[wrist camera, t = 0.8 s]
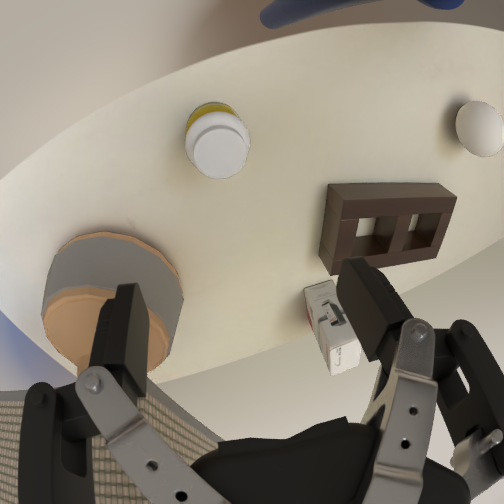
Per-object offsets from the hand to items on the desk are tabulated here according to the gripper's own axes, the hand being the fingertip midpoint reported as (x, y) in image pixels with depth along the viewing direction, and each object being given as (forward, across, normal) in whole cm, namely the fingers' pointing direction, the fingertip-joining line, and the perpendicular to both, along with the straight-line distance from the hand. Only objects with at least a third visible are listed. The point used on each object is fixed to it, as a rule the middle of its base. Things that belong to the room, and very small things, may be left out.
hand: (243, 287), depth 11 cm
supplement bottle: (+22, 0, -1) cm, 23 cm away
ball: (+23, -35, -4) cm, 42 cm away
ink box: (+22, -15, +27) cm, 38 cm away
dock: (+22, -23, +12) cm, 34 cm away
